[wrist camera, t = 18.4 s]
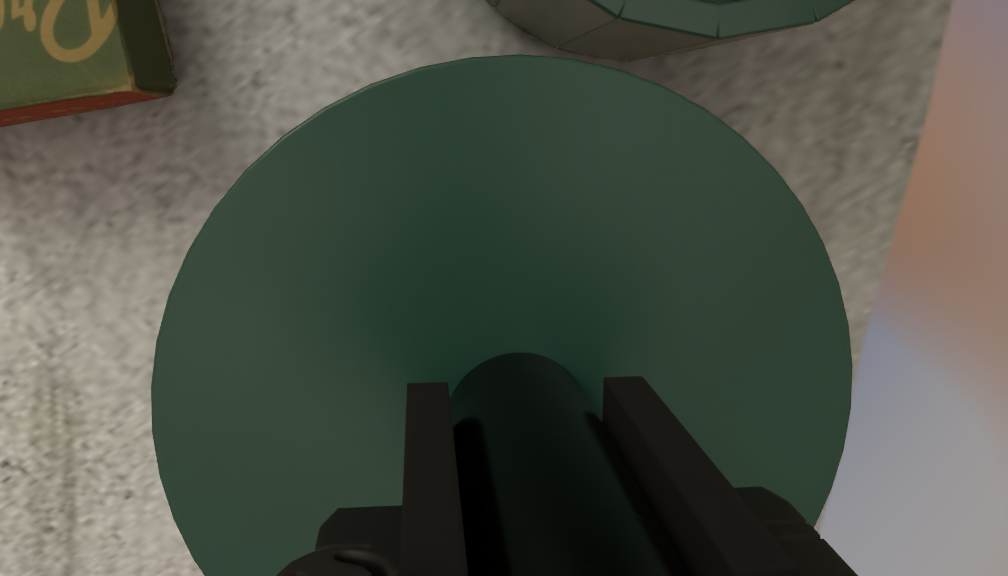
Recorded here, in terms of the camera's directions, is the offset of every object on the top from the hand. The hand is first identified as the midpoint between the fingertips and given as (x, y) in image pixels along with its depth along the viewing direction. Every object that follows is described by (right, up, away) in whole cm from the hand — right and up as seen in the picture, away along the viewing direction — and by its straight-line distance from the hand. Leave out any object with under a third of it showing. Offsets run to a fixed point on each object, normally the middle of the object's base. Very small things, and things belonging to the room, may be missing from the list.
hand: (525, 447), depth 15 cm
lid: (0, 0, +2) cm, 2 cm away
